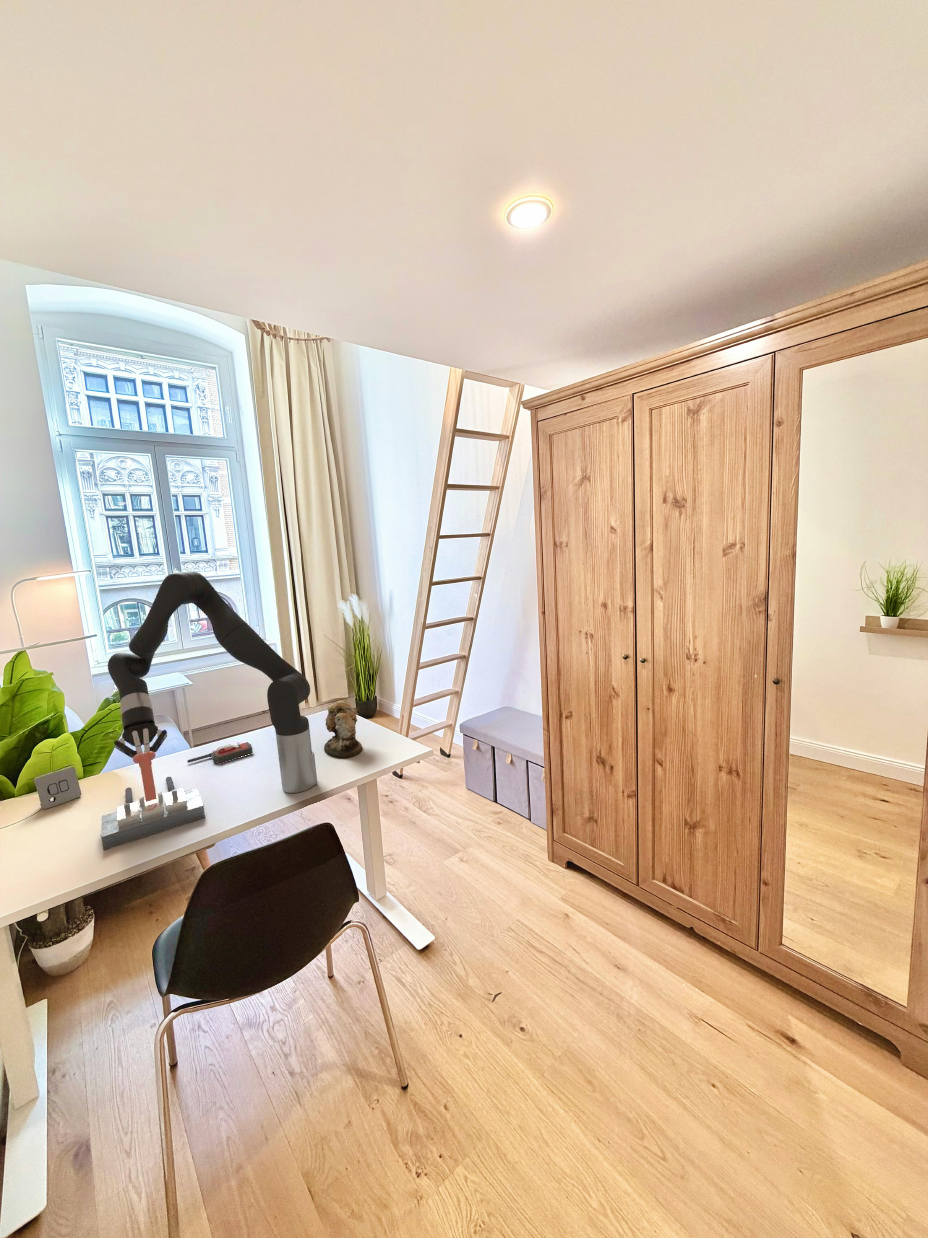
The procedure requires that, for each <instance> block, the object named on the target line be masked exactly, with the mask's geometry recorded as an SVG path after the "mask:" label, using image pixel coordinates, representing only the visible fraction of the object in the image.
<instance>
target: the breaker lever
mask: <svg viewBox="0 0 928 1238" xmlns="http://www.w3.org/2000/svg"><path fill="white" fill-rule="evenodd" d="M155 758H156V752H153V751H148V752H144V751H143V753H140V754H136V755H135V756H134V757H133V758H132V761H133V763H135V764H138V765H139V763H140V767H139V768H140V769H139V770H140V774H141V780H142V785H143V791H144V792H143V793H144V799H146V802H148V801H152V800H155V799H157V797H156V796H157V791H156V785H155V780H154V773H153V766H152V764H151V762H152V761H153V760H154V759H155ZM150 760H151V761H150Z"/></svg>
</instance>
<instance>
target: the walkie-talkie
mask: <svg viewBox="0 0 928 1238" xmlns="http://www.w3.org/2000/svg"><path fill="white" fill-rule="evenodd" d="M253 752H254V751H253V746H252V743H249V741H247V742H242V743H240V742H238V743H237V744H235V745H234V744H231V743H230V744H226V745H222V746H219V747H217V749H214V750H212V752H209V753H207V754H204V755H200V756H197V757H192V758H189V759H187V761H186V763H188V764H189V763H193V762H197V761H199V760H204V759H206V758H207V759H208V758H211V760H212V762H213V764H215V763H216V764H217V765H220V763H221V764H223V762H224V763H227V762H230V761H229V760H231V761H233V760H232V759H234V760H236V759H235V758H237V759H239V758H238V757H241V756H244V757H246V756H245V755H247V756H249V755H248V754H251V753H253ZM251 755H252V754H251ZM241 758H242V757H241ZM226 761H227V762H226Z"/></svg>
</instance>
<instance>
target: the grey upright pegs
mask: <svg viewBox="0 0 928 1238" xmlns="http://www.w3.org/2000/svg"><path fill="white" fill-rule="evenodd" d="M165 782H166V786H167V790H168V792H171V790H175V785H174V781H173V777H172V776H167V777H166V778H165ZM129 802H130V803H133V802H134V800H133V789H132V787H126V788H125V804H126V803H129Z"/></svg>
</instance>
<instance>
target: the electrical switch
mask: <svg viewBox="0 0 928 1238" xmlns="http://www.w3.org/2000/svg"><path fill="white" fill-rule="evenodd" d="M33 782H34V785H35V787H36V792H37V795H38V798H39V799H38V800H39V802H40V809H41V810H48V809H50V808H52V807H53V808H54V807H56V806H58V805H60V804H64V803H66V802H70V801H72V800H74V799H78V798H80V797H81V796H82V790H81V787H80V782H79V778H78V775H77V771H76V768H75V766H68V767H65V768H63V769H59V770H56V771H52V772H49V773H45V774H43V775H39V776H37V777H34V779H33ZM51 799H53V800H52V801H51Z"/></svg>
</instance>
